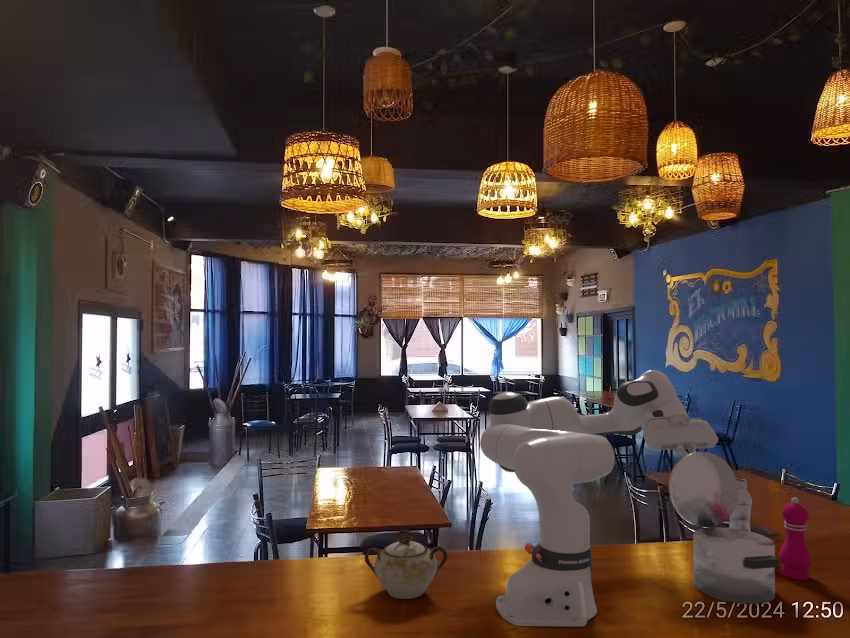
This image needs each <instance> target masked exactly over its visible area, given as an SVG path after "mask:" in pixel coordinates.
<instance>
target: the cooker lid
mask: <svg viewBox="0 0 850 638" xmlns="http://www.w3.org/2000/svg"><path fill="white" fill-rule="evenodd" d="M689 453H690V454H687V455H685V456H684V457H682V456H681V458H680V459H678V460H677V462H676V463H675V464H674V466H673V468H672V469H671V472H670V475H669V479H668V494H669V497H670V502H671V503H672V506H673V507H674V509H675V511H676V513H678V514H679V516H680V517H681V518H682V519H683V520H685V521H686V522H688V523H689V524H692V525H695V526H698V527H702V528H713V527H717V526H719V525H721V524H723V523H724V522H725V521H727V520H728V519H730V515H731V514H732V513H733V511H734V509H735V507H736V504H737V499H738V485H737V480H736V479H737V477H736V475H735V473H734V471H733V469H732V468H731V466H730V465H729V464H728V462H727V461H725V459H723V458H722V457H720V456H719V455H717V454H714V453H712V452H706V451H696V452H693V453H691V452H689Z"/></svg>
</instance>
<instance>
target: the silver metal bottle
mask: <svg viewBox="0 0 850 638" xmlns="http://www.w3.org/2000/svg"><path fill="white" fill-rule="evenodd" d="M736 480H737V485H738V499H737V504H736V507H735V509H734V511H733V513H732V514H731V515H730V517H729V527H728V528H733V529H740V530H745V531H750V532H752V531H751V511H752V505H753V504H752V503H753V499H752V498H753V497H752V496H751V494H750V493H749V491H748V490H747V488H748V482H747V480H746V479H742V478H736Z"/></svg>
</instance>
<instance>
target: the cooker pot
mask: <svg viewBox="0 0 850 638" xmlns="http://www.w3.org/2000/svg"><path fill="white" fill-rule="evenodd" d="M750 531H751V530H750ZM750 531H745V530H740V529H733V528H729V527H719V526H718V527H717V526H712V527H699V529H697V530H695V531H694V532H693V535H692V536H693V537H692V539H693V540H692V543H693V544H692V546H693V548H692V550H693V551H692V552H693V553H692V557H693V558H692V560H693V561H692V562H693V565H692V566H693V567H692V574H693V575H692V579H693V580H692V583H693V586H694V585H695V586H694V587H695V588H696V589H697V590H698V591H699V590H700V591H699V592H701V591H702V592H703V594H704V593H705V594H704V595H706V594H707V595H706V596H708V595H709V596H708V597H710V598H711V597H712V598H715V599H717V600H721V601H725V602H728V603H735V604H741V603H742V604H743V605H760V603H761V604H766V603H770V602H772V601H773V600H774V599H775V597H776V568H779V567H780V558H777V557H776V544H775V542H774V541H773V540H772V539H770V538H769V537H767V536H766V535H763V534H759V533H757V532H754V531H751V532H750ZM702 592H701V593H702Z"/></svg>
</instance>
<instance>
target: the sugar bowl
mask: <svg viewBox="0 0 850 638" xmlns="http://www.w3.org/2000/svg"><path fill="white" fill-rule="evenodd" d="M402 534H405V535H407V537H408V538H406V539H402V538H401V535H402ZM396 538H397V541H396V542H393V543H391V544H389V545H386V546H385V547H384V548H383V549H380V548H378V547H370V548H368V549H367V550H366V552H365V553H364V560H365V561H364V562H365V563H366V565H367V566H368V568H370V569H371V571H372V573H373V574H374V576H375V577H376V578H377V579H378V580H379V582H380V584H381V585H382V586H383V587H384V589H385V590H386V591H387V593H388V594H389V596H390V597H391V598H394V599H400V600H410V599H417V598H419V597H421V596H422V595H424V593H425V591H426V590H427V588H428V587H429V585H430V584H431V582H432V581H433V579H434V578H436V576H437V575H438V573H439V572H440V570H441V569H442V567H443V566H444V564H445V563H446V561H447V558H448V553H447V551H446V549H445V548H444V547H442V546H435V547H432V548H428V546H427V545H425V544H423V543H421V542H418V541H417V542H416V541H412V539H413V534H412V533H411V532H410V531H409V530H407V529H400V530H399V532H398V533H397V534H396ZM436 552H441V553H442V556H443V557H442V560H441V562H440V563H439V564H438V561H437V559H436V556H435V553H436ZM371 554H375V555H376V556H377V557H376V558H375V561H374V565H373V563H371V561H370V559H369V555H371Z"/></svg>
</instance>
